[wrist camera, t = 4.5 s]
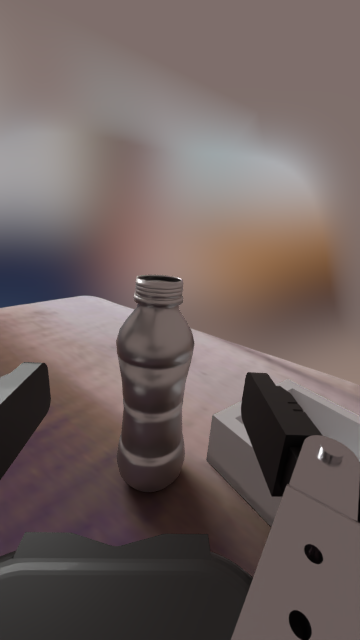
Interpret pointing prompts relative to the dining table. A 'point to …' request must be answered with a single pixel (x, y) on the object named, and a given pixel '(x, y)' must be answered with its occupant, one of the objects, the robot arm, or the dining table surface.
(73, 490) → the dining table surface
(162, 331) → the plastic bottle
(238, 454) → the bin
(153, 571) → the robot arm
